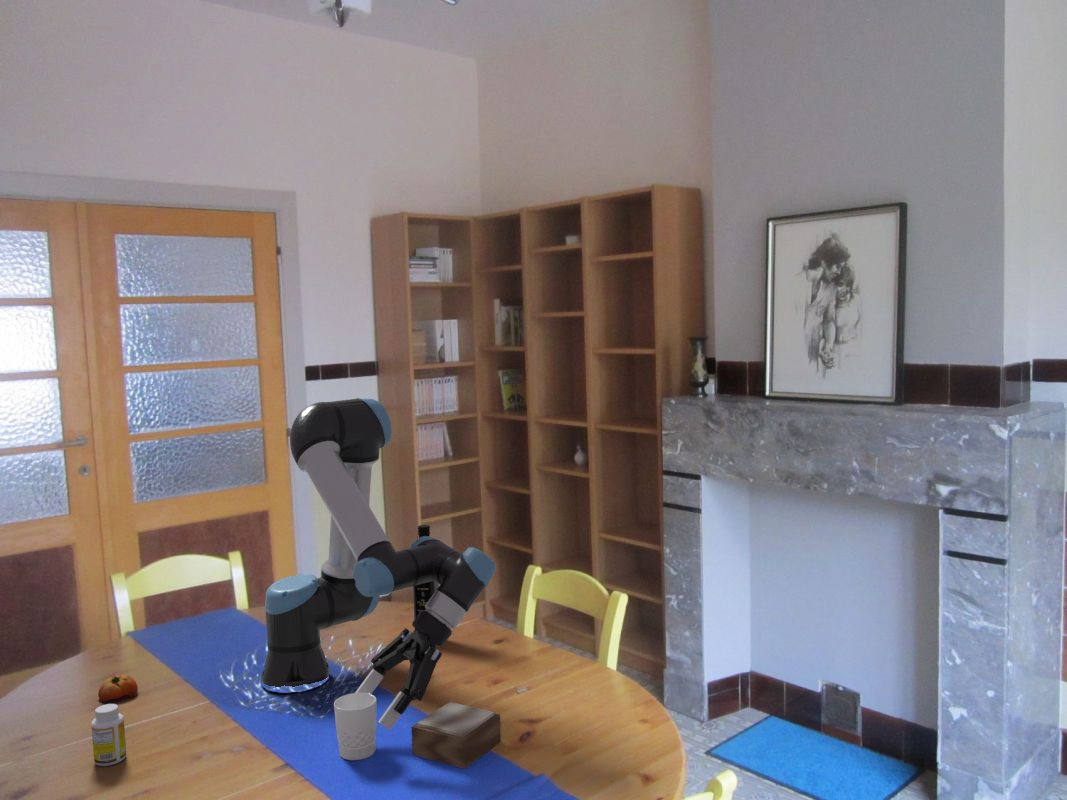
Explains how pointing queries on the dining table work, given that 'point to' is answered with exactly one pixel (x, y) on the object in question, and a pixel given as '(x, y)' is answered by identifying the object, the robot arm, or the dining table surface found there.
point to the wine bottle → (426, 589)
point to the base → (456, 734)
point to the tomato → (117, 687)
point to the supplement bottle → (108, 735)
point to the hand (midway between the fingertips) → (370, 713)
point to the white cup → (356, 725)
